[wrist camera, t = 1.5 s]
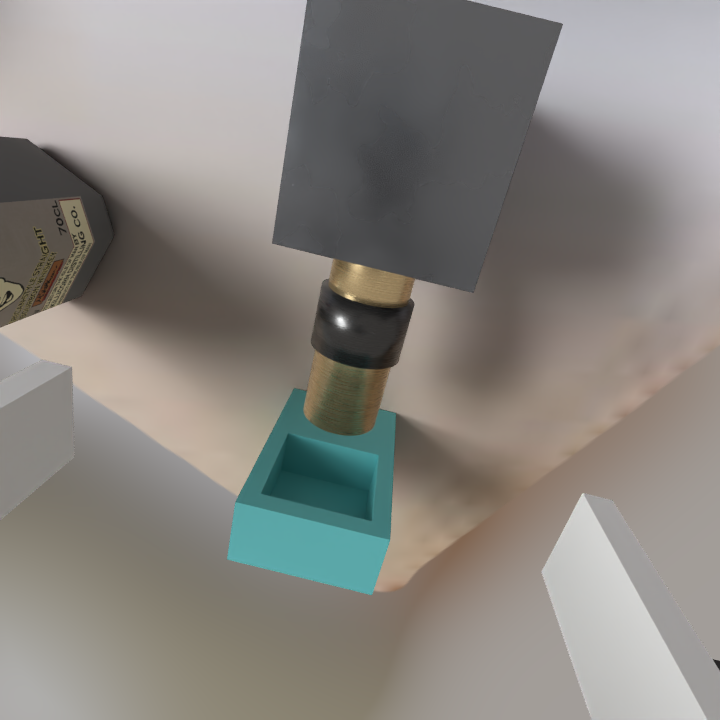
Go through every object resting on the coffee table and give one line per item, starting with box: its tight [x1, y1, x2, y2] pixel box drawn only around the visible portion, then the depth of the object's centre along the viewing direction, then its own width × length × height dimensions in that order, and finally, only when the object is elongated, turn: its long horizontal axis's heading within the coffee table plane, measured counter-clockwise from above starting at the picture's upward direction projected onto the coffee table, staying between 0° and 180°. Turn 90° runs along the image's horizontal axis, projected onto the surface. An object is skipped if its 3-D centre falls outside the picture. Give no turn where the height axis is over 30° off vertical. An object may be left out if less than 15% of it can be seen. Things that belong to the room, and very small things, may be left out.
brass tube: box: [303, 258, 415, 436], centre depth 22 cm, size 18×5×5 cm, turn 167°
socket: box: [227, 388, 396, 595], centre depth 30 cm, size 4×8×13 cm, turn 77°
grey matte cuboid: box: [272, 0, 563, 293], centre depth 22 cm, size 9×8×13 cm
